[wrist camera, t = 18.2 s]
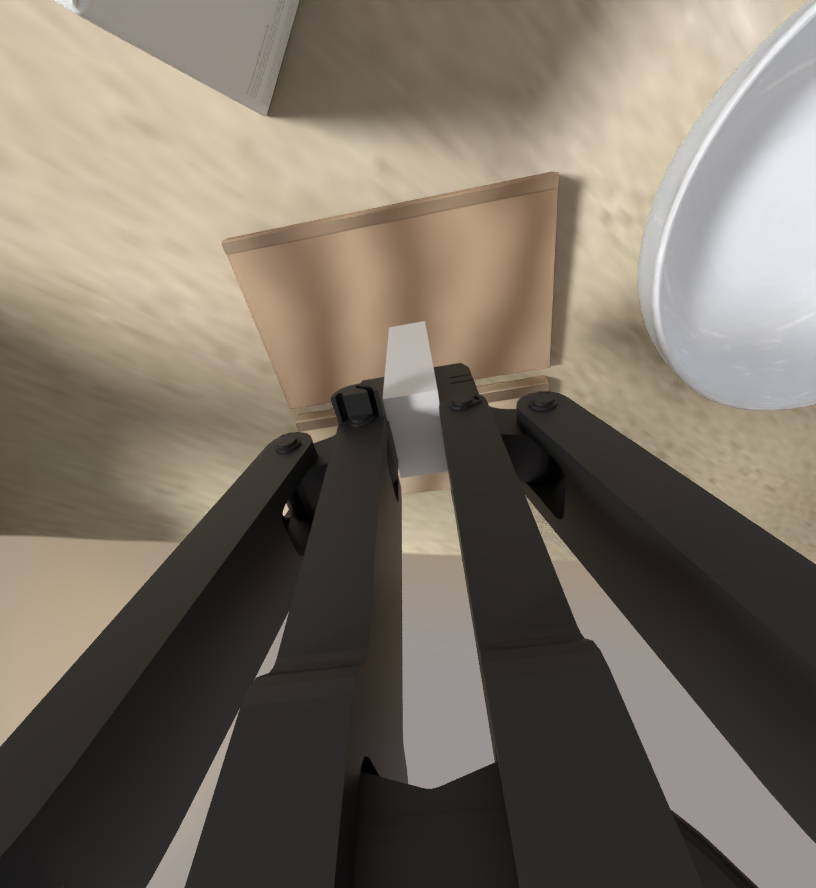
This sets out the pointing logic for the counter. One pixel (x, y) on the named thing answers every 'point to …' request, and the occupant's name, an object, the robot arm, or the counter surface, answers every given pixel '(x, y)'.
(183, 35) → the supplement box
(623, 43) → the counter surface
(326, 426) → the laid plank
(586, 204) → the counter surface
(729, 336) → the serving bowl
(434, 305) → the plank
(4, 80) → the counter surface
